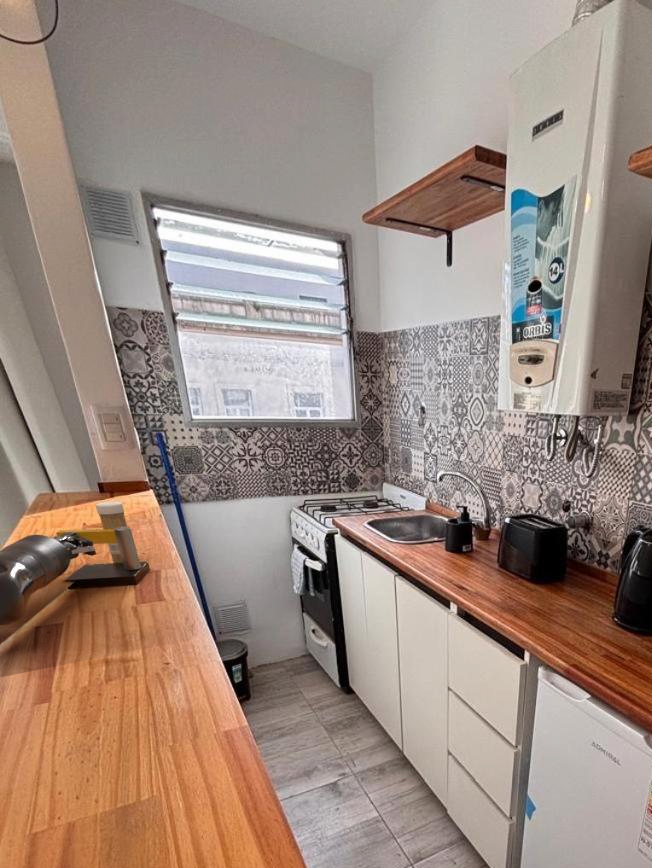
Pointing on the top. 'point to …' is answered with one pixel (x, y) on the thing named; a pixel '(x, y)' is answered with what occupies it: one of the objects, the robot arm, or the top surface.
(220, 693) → the top surface
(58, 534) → the gas tap
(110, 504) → the sprinkles bottle
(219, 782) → the top surface
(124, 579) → the stove plate
